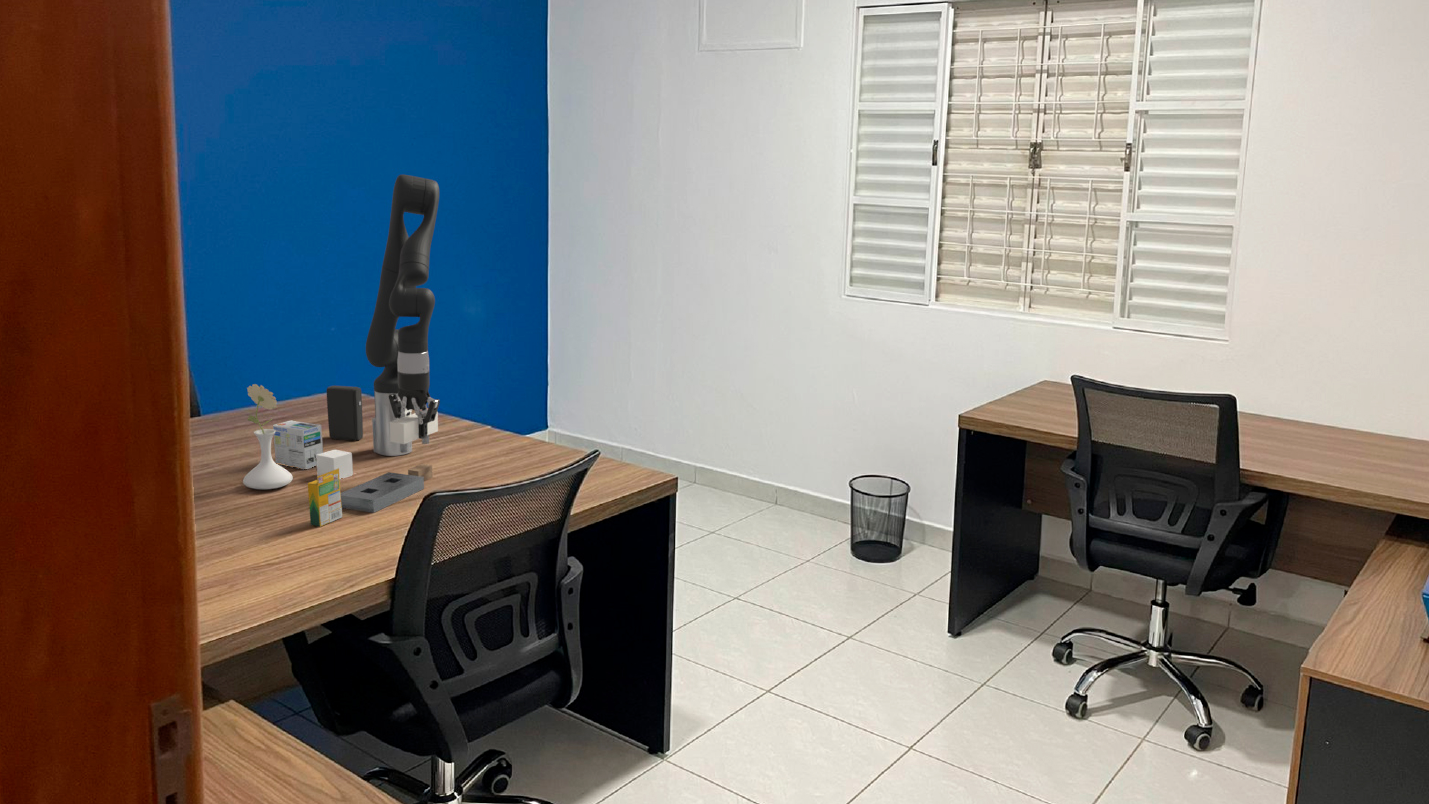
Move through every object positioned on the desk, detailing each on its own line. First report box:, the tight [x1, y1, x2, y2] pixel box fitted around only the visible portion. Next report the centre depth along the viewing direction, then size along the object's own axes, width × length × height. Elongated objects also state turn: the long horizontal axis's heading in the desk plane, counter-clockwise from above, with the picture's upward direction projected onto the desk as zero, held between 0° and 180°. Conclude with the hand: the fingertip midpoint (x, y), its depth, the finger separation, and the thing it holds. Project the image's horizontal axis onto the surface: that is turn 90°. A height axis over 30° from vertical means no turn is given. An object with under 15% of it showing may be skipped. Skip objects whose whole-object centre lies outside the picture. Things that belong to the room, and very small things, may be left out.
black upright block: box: [326, 385, 364, 441], centre depth 322 cm, size 9×4×15 cm, turn 80°
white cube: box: [316, 449, 354, 480], centre depth 288 cm, size 6×6×6 cm
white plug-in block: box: [390, 407, 439, 453], centre depth 284 cm, size 14×4×9 cm, turn 158°
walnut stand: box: [407, 463, 433, 482], centre depth 287 cm, size 6×3×3 cm, turn 160°
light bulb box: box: [272, 419, 324, 470], centre depth 297 cm, size 11×7×11 cm, turn 65°
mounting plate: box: [341, 472, 425, 514], centre depth 272 cm, size 20×10×3 cm, turn 160°
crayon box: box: [307, 468, 343, 528], centre depth 254 cm, size 7×3×12 cm, turn 157°
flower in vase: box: [242, 383, 294, 490], centre depth 277 cm, size 13×11×25 cm
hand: (414, 436), depth 284 cm, fingers closed on white plug-in block, 4 cm apart
